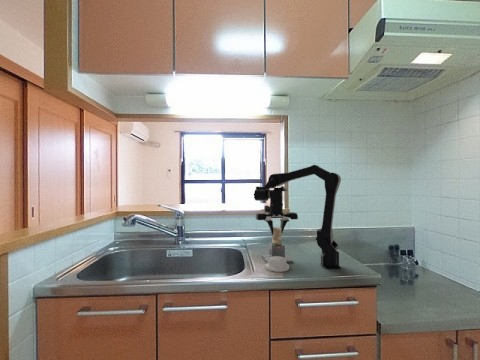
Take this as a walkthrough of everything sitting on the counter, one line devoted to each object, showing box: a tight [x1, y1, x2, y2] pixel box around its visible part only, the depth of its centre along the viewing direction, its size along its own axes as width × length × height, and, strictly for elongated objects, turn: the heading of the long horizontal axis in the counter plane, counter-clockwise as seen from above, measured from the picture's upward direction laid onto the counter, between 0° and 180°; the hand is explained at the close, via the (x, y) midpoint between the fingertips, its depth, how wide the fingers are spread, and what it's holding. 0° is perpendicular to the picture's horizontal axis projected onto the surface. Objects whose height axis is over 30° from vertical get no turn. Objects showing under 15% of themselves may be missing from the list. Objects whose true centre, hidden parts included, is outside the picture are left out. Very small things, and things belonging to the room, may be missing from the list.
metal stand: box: [261, 242, 294, 265], centre depth 126 cm, size 12×12×7 cm
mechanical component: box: [265, 256, 290, 273], centre depth 114 cm, size 10×4×10 cm
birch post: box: [271, 226, 283, 246], centre depth 127 cm, size 4×4×10 cm
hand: (276, 234), depth 127 cm, fingers closed on birch post, 4 cm apart
